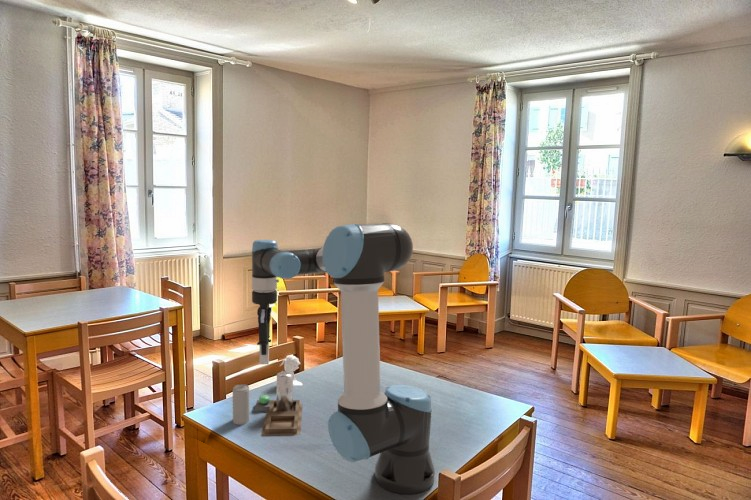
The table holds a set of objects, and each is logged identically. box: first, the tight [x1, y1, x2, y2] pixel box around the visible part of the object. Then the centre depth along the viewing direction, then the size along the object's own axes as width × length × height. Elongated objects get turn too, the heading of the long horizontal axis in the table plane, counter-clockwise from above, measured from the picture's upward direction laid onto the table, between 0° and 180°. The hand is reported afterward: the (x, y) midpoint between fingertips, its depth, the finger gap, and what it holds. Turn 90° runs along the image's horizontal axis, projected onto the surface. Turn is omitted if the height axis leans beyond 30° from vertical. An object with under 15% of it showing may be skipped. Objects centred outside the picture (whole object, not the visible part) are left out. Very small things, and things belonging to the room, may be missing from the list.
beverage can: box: [232, 383, 250, 425], centre depth 152 cm, size 5×5×12 cm
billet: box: [276, 370, 294, 412], centre depth 159 cm, size 5×5×12 cm
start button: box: [258, 394, 271, 404], centre depth 161 cm, size 3×3×2 cm
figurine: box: [279, 355, 303, 386], centre depth 180 cm, size 9×9×12 cm
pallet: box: [254, 399, 303, 436], centre depth 155 cm, size 20×14×3 cm
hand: (264, 363), depth 159 cm, fingers closed
